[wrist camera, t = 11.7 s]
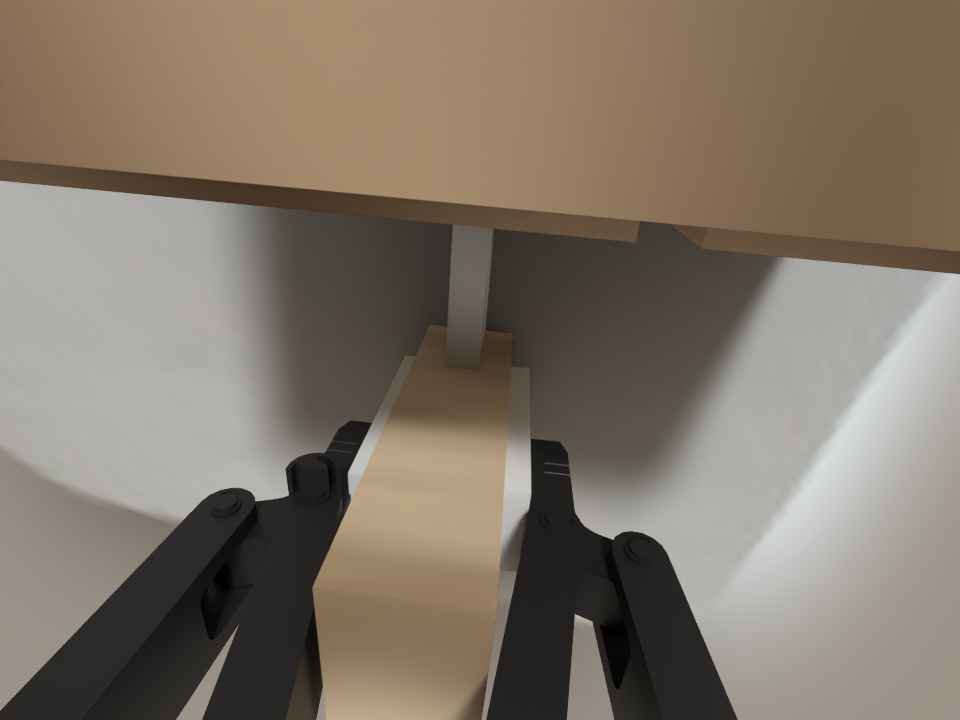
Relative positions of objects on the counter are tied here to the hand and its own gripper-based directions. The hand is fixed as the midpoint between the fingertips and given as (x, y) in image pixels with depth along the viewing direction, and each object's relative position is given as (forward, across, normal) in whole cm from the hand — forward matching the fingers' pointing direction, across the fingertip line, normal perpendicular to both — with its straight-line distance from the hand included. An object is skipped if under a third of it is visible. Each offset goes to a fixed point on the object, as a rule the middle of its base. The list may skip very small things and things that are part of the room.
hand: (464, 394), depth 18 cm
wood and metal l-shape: (+1, 0, +6) cm, 6 cm away
